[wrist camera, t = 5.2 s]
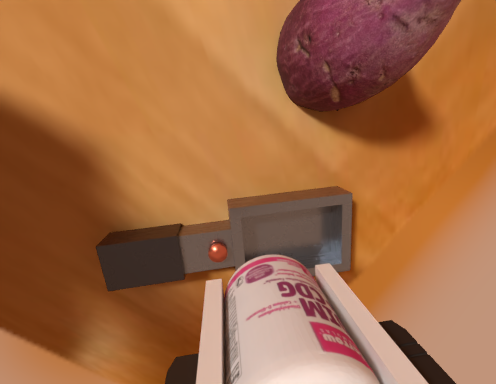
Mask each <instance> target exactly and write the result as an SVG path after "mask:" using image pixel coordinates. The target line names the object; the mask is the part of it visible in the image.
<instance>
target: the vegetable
mask: <svg viewBox="0 0 496 384" xmlns="http://www.w3.org/2000/svg"><path fill="white" fill-rule="evenodd" d="M460 1H461V0H300V1H299V2H298V3H297V4H296V6H295V7H294V8H293V10H292V11H291V12H290V14H289V15H288V17H287V18H286V20H285V22H284V25H283V27H282V30H281V32H280V37H279V42H278V48H277V67H278V71H279V73H280V76H281V80H282V83H283V86H284V88H285V91H286V93H287V95H288V96H289V98H290V99H291V100H292V101H293V102H294V103H295V104H297V105H300V106H303V107H306V108H309V109H313V110H317V111H332V110H337V111H338V110H339V109H341V108H345V107H348V106H352V105H355V104H357V103H360V102H362V101H364V100H366V99H368V98H370V97H372V96H374V95H376V94H377V93H379V92H381V91H383V90H384V89H386V88H388V87H389V86H391V85H392V84H393V83H395V82H396V81H397V80H398V79H399V78H401V77H402V76H403V75H404V74H406V73H407V72H408V71H409V70H410V69H412V68H413V67H414V66H415V65H416V64H417V63H418V62H419V61H420V60H421V58H422V57H423V56H424V55H425V54H426V53H427V51H428V50H429V49H430V48H431V47H432V45H433V44H434V43H435V41H436V40H437V39H438V37H439V35H440V34H441V33H442V31H443V30H444V28H445V27H446V25H447V23H448V22H449V20H450V19H451V17H452V15H453V13H454V11H455V9H456V7H457V6H458V4H459V3H460Z"/></svg>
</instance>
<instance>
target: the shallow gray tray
mask: <svg viewBox="0 0 496 384" xmlns="http://www.w3.org/2000/svg"><path fill="white" fill-rule="evenodd" d="M227 203H228V211H229V220H225V221H218V222H210V223H202V224H195V225H187V226H181V224H174V225H166V226H158V227H151V228H143V229H135V230H127V231H120V232H112V233H109V234H108V235H107V236H106V237H105V238H104V239H103V240H102V241H101V242H100V243H99V244H98V245H97V246H96V249H97V253H98V257H99V260H100V264H101V267H102V271H103V274H104V278H105V282H106V285H107V289H108V291H113V290H120V289H126V288H133V287H139V286H146V285H152V284H159V283H165V282H172V281H178V280H184V279H185V274H187V273H193V272H200V271H206V270H213V269H220V268H226V267H233V266H235V272H236V271H237V269H238V268H240V267H241V266H242V265H243V264H245V263H246V262H248V261H250V260H252V259H254V258H256V257H259V256H263V255H273V254H274V255H283V256H287V257H290V258H293V259H295V260H297V261H298V262H300V263H301V264H302V265H304V266H305V267H306V268H307V270H308V271H309V272H310V273H311V275H312V276H315V265H320V264H327V263H330V265H331V266H332V267H333V268H334V269H335V271H336V272H343V271H349V270H350V263H351V226H352V193H351V192H349V191H346V190H344V189H342V188H340V187H338V186H335V187H327V188H319V189H310V190H302V191H294V192H286V193H278V194H269V195H261V196H253V197H245V198H237V199H228V200H227Z"/></svg>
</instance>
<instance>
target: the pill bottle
mask: <svg viewBox="0 0 496 384" xmlns="http://www.w3.org/2000/svg"><path fill="white" fill-rule="evenodd" d="M224 337H225V384H380V383H379V381H378V379H377V377H376V376H375V374H374V372H373V371H372V369H371V368H370V366H369V365H368V363H367V362H366V360H365V359H364V357H363V356H362V354H361V352H360V351H359V349H358V348H357V346H356V345H355V343H354V342H353V340H352V338H351V337H350V335H349V334H348V332H347V331H346V329H345V327H344V326H343V324H342V323H341V321H340V320H339V318H338V317H337V315H336V313H335V312H334V310H333V308H332V307H331V305H330V304H329V302H328V301H327V299H326V297H325V296H324V294H323V293H322V291H321V289H320V288H319V286H318V284H317V283H316V281H315V280H314V278H313V276H312V275H311V273H310V272H309V271H308V270H307V268H306V267H305V266H304V265H302V264H301V263H300V262H298V261H297V260H295V259H293V258H290V257H287V256H283V255H274V254H273V255H263V256H259V257H256V258H254V259H252V260H250V261H248V262H246V263H245V264H243V265H242V266H241V267H240V268H238V269H237V271H236V272H235V273H234V274H233V276H232V277H231V279H230V281H229V283H228V285H227V288H226V291H225V297H224Z"/></svg>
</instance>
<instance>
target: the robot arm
mask: <svg viewBox="0 0 496 384" xmlns="http://www.w3.org/2000/svg"><path fill="white" fill-rule="evenodd" d="M315 281H316V283H317V284H318V286H319V288H320V289H321V291H322V293H323V294H324V296H325V297H326V299H327V301H328V302H329V304H330V305H331V307H332V308H333V310H334V312H335V313H336V315H337V317H338V318H339V320H340V321H341V323H342V324H343V326H344V327H345V329H346V331H347V332H348V334H349V335H350V337H351V338H352V340H353V342H354V343H355V345H356V346H357V348H358V349H359V351H360V352H361V354H362V356H363V357H364V359H365V360H366V362H367V363H368V365H369V366H370V368H371V369H372V371H373V372H374V374H375V376H376V377H377V379H378V381H379V383H380V384H456V383H455V382H454V381H453V380H452V379H451V378H450V377H449V376H448V375H447V373H446V372H445V371H444V370H443V369H442V368H441V367H440V366H439V365H438V364H437V363H436V362H435V361H434V359H433V358H432V357H431V356H430V355H428V354H427V352H426V351H425V350H424V349H423V348H422V347H421V346H420V344H418V343H417V341H416V340H415V339H414V338H413V337H412V336H411V335H410V334H409V333H408V332H407V330H406V329H404V328H402V327H401V326H399V325H398V324H396V323H394V322H393V321H392V320H390V321H383V322H377V320H376V319H375V318H374V317H373V316H372V314H371V313H370V312H369V311H368V309H367V308H366V307H365V306H364V305H363V303H362V302H361V301H360V300H359V299H358V297H357V296H356V295H355V294H354V293H353V291H352V290H351V289H350V288H349V286H348V285H347V284H346V283H345V282H344V280H343V279H342V278H341V277H340V275H339V274H338V273H337V272H336V271H335V269H334V268H333V267H332V266H331V265H330V263H327V264H320V265H315ZM165 384H225V337H224V293H223V286H222V279H216V280H209V281H206V288H205V298H204V308H203V318H202V328H201V338H200V348H199V353H198V354H192V355H186V356H180V357H176V358H175V360H174V362H173V363H172V365H171V367H170V368H169V370H168V372H167V376H166V381H165Z"/></svg>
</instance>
